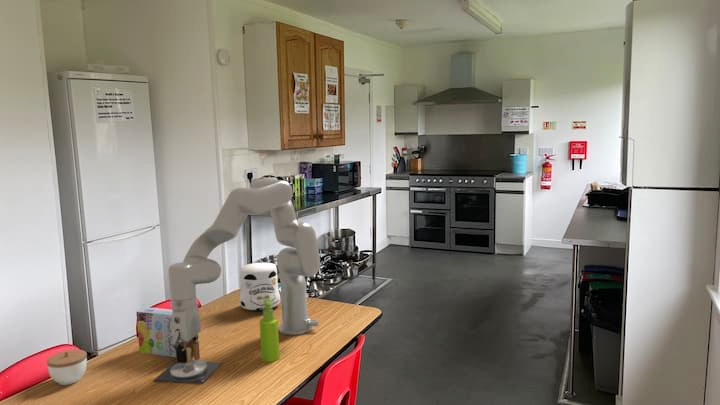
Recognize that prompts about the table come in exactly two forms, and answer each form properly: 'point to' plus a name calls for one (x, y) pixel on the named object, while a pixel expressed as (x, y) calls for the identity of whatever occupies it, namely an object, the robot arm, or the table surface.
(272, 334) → the soap dispenser
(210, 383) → the table surface
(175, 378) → the grey peg stand
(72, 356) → the lidded jar
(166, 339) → the snack box
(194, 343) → the ring
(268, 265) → the milk container
